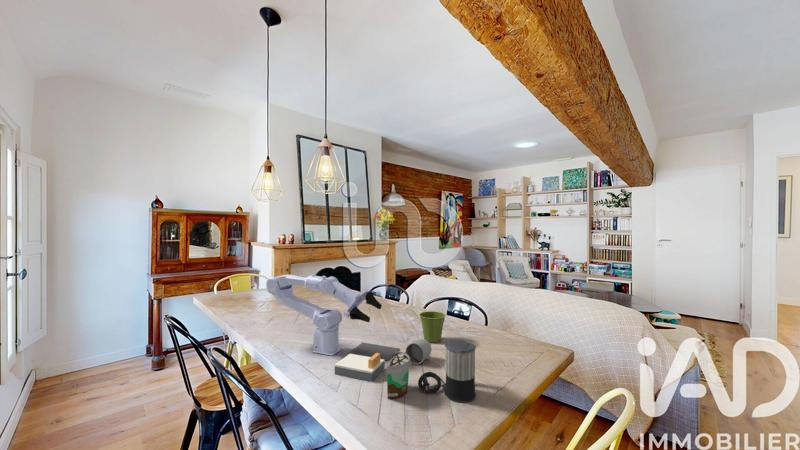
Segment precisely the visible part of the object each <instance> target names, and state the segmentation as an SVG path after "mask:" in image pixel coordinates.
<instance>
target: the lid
mask: <svg viewBox="0 0 800 450" xmlns="http://www.w3.org/2000/svg"><path fill="white" fill-rule="evenodd" d="M384 361H385V360H384V359H380V353H376V354H374V355H373V356H372V357H367V356H361V355H355V354H347V355H346V356H345V357H343V358H342V359H341V360H339V361H338V362H335V364H334V368H335V367H340V368H345V369H350V370H355V371H360V372H365V373H371V374H372V373H373V372H374V371H375V370H376V369H377V368H378V367H379V366H380V365H381V364H382V363H383V362H384Z"/></svg>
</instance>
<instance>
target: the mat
mask: <svg viewBox="0 0 800 450" xmlns="http://www.w3.org/2000/svg"><path fill="white" fill-rule="evenodd" d="M399 350H401V349H400V347H399V348H398V347H393V346H388V345H387V346H386V345H380V344H374V343H367V342H361V343H360V344H358V345H357V346H356V347H354V348H353V349H351V350H350V351H349V352H348V353H347V355H349V354H355V355H361V356H367V357H372V356H373V355H374V354H376V353H380V359H384V360H385V361H386V362H388V361H390V360H391V358H393V357H394V356H395V351H399Z"/></svg>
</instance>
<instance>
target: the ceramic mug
mask: <svg viewBox="0 0 800 450" xmlns="http://www.w3.org/2000/svg"><path fill="white" fill-rule="evenodd" d="M430 343H431V342H428V341H427V340H425V339H424V338H418V339H415V341H412V342H410V343H408V345H407V346H406V348H405V351H403V352H404V353H406V354H407V355H408V356H409V358H410V360H411V365H412V364H413V365H416V366H417V365H420V364H422V363H423V362H424V361H425V360H427V358H429V357H430V355H431V353H432V345H431V344H430Z"/></svg>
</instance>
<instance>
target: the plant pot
mask: <svg viewBox="0 0 800 450" xmlns="http://www.w3.org/2000/svg"><path fill="white" fill-rule="evenodd" d="M418 316H419V318H420V322H421V326H422V328H421V329H422V333H423V339H425V340H427V341H428V342H429V343H439V342H441V340H442V335H443V327H444V322H445V318H446V317H447V314H446V313H444V312H440V311H435V310H434V311H433V310H432V311H431V310H429V311H422V312H419V314H418Z"/></svg>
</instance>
